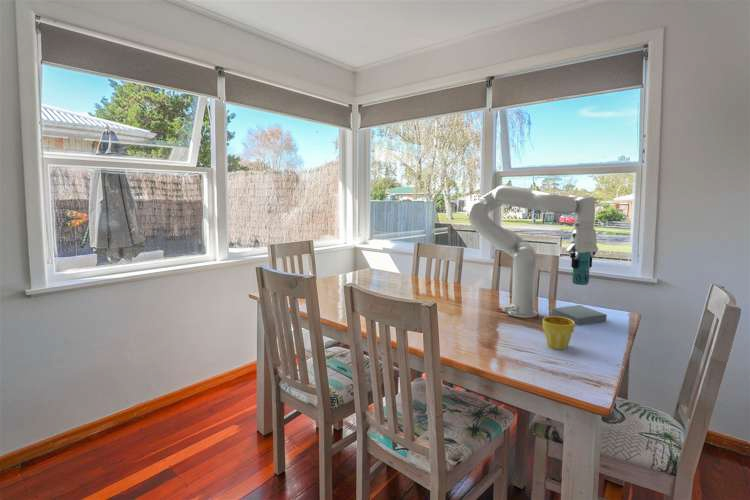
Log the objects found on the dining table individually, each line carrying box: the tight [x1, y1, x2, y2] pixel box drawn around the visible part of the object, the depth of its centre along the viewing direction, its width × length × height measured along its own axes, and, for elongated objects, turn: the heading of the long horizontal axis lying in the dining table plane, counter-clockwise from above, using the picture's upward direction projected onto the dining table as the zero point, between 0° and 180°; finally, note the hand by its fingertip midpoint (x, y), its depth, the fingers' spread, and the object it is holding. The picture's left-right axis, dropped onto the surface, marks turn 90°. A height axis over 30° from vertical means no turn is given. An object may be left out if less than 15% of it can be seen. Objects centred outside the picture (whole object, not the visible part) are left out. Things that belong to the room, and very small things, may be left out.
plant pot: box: [542, 315, 576, 351], centre depth 144 cm, size 10×10×10 cm
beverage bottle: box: [571, 251, 591, 286], centre depth 171 cm, size 6×7×20 cm
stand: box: [551, 304, 608, 326], centre depth 175 cm, size 15×15×3 cm
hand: (581, 267), depth 171 cm, fingers closed on beverage bottle, 6 cm apart
